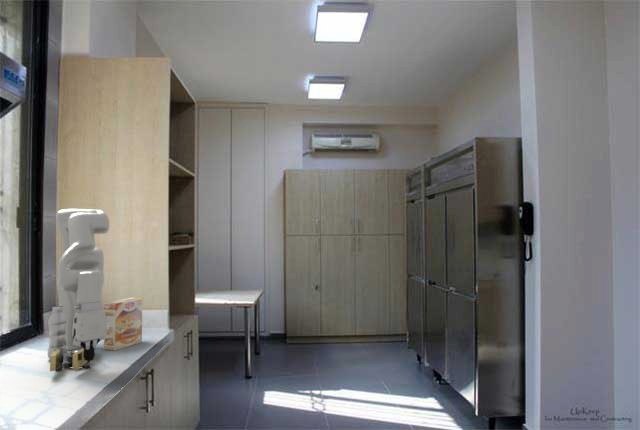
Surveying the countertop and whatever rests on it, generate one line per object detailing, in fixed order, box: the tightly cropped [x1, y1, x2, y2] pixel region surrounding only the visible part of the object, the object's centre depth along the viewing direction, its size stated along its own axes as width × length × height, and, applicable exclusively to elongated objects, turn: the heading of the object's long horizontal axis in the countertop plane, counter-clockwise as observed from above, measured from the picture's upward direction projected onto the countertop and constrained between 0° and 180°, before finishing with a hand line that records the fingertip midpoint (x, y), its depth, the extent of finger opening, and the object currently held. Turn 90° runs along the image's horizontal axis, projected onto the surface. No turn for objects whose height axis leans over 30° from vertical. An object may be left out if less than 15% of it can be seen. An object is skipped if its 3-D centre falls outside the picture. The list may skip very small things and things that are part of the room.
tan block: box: [72, 348, 91, 371], centre depth 150 cm, size 11×3×8 cm, turn 7°
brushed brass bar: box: [49, 348, 64, 372], centre depth 148 cm, size 11×3×8 cm, turn 21°
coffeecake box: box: [102, 297, 143, 351], centre depth 185 cm, size 15×7×20 cm, turn 158°
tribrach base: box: [62, 348, 96, 370], centre depth 157 cm, size 9×10×5 cm
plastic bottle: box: [47, 305, 69, 360], centre depth 166 cm, size 6×7×20 cm
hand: (89, 359), depth 149 cm, fingers closed
